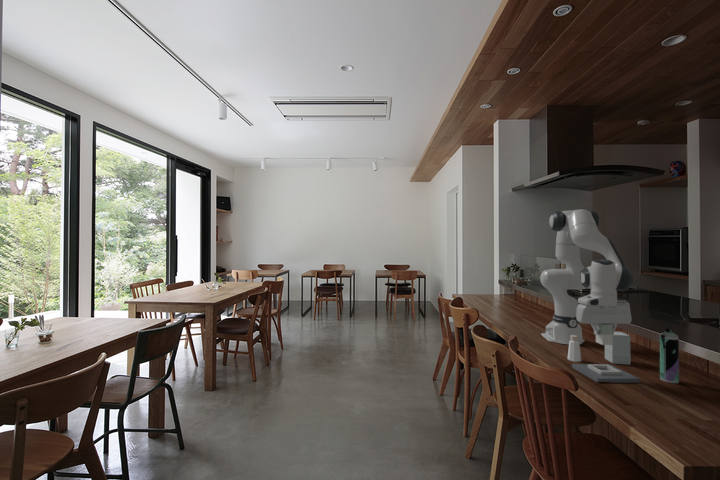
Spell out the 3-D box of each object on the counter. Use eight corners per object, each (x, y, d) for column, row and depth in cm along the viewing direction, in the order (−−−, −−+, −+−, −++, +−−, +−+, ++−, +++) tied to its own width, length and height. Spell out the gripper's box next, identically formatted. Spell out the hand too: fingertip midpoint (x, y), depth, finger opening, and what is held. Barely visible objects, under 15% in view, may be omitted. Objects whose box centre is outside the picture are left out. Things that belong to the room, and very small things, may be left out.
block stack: (595, 342, 144) (595, 322, 144) (605, 342, 144) (605, 322, 144) (602, 344, 140) (602, 324, 140) (612, 344, 140) (612, 324, 140)
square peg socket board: (572, 367, 150) (572, 361, 150) (609, 367, 150) (609, 361, 150) (597, 382, 134) (597, 375, 134) (639, 382, 134) (639, 375, 134)
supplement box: (631, 364, 153) (631, 335, 154) (612, 363, 155) (611, 334, 155) (622, 359, 161) (622, 331, 161) (604, 358, 162) (603, 330, 162)
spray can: (674, 384, 132) (674, 330, 132) (657, 379, 137) (656, 327, 137) (681, 381, 135) (681, 329, 135) (664, 376, 140) (663, 326, 140)
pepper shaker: (581, 362, 156) (581, 337, 156) (567, 360, 159) (567, 336, 159) (581, 359, 161) (581, 335, 161) (567, 357, 164) (567, 333, 164)
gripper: (623, 298, 145) (623, 332, 145) (573, 298, 145) (574, 332, 145) (635, 301, 139) (635, 336, 139) (583, 301, 139) (583, 336, 139)
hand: (603, 334), depth 142 cm, fingers closed on block stack, 4 cm apart
